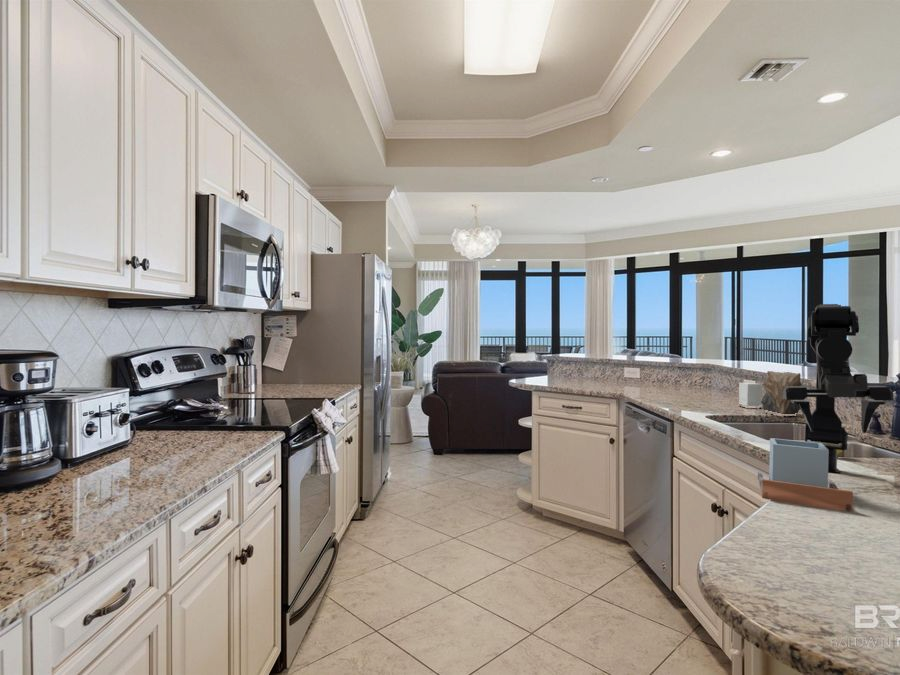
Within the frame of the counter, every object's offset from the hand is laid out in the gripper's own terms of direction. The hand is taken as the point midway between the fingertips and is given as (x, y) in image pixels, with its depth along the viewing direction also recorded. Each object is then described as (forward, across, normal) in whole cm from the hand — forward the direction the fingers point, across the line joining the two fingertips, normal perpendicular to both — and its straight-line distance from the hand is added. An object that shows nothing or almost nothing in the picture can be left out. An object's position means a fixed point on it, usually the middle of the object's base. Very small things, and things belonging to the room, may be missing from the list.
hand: (837, 432), depth 109 cm
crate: (+13, -8, -1) cm, 15 cm away
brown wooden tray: (+14, -8, -5) cm, 17 cm away
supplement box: (+11, -9, +154) cm, 155 cm away
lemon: (+14, +6, +47) cm, 49 cm away
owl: (+12, +2, +135) cm, 136 cm away
